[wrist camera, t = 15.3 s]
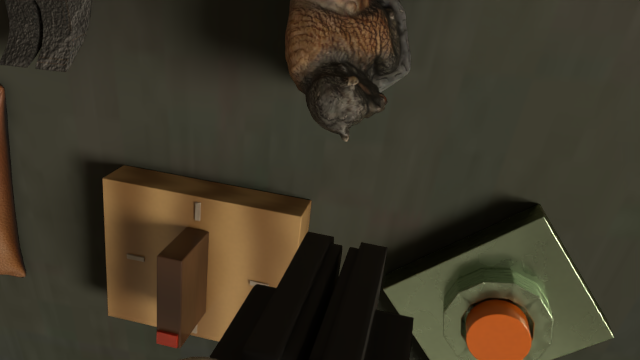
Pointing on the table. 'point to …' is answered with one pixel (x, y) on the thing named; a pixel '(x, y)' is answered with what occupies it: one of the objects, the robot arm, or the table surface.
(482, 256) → the button box
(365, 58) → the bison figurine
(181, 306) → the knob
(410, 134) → the table surface
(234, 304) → the light wood flat block
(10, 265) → the sunglasses case
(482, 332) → the button
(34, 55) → the hammer
